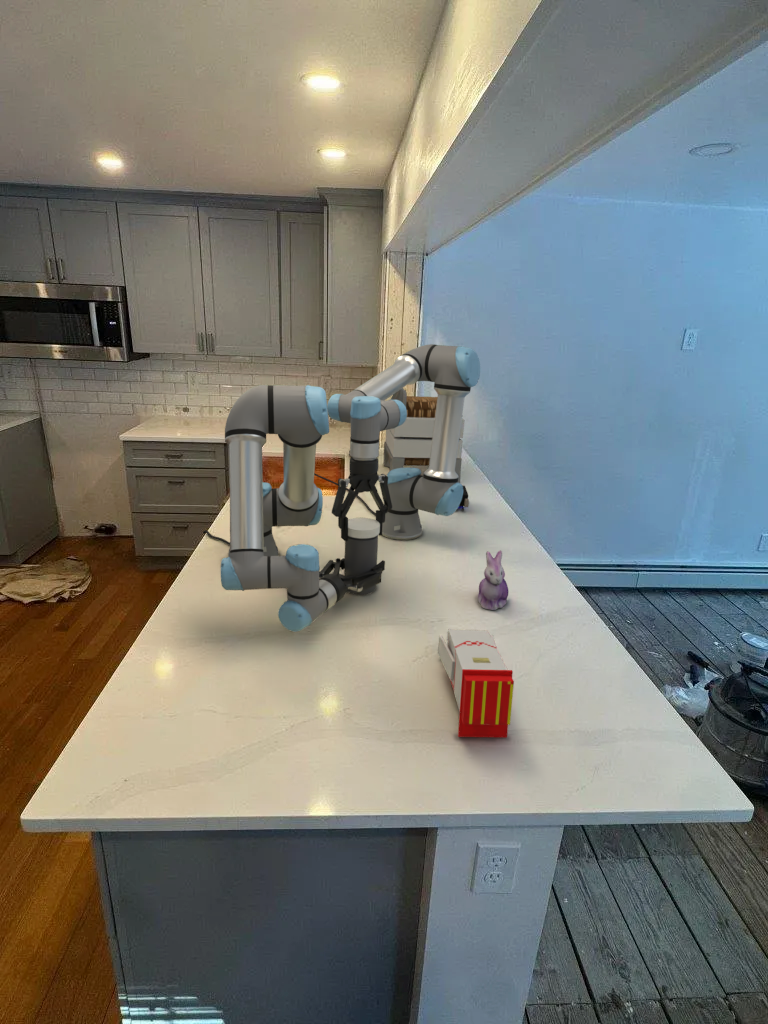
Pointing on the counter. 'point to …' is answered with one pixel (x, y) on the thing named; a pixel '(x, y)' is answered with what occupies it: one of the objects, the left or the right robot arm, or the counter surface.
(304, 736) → the counter surface
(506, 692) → the toy
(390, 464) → the grey and brown box
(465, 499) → the figurine character
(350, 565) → the jar
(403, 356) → the right robot arm
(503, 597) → the figurine
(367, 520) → the lid
